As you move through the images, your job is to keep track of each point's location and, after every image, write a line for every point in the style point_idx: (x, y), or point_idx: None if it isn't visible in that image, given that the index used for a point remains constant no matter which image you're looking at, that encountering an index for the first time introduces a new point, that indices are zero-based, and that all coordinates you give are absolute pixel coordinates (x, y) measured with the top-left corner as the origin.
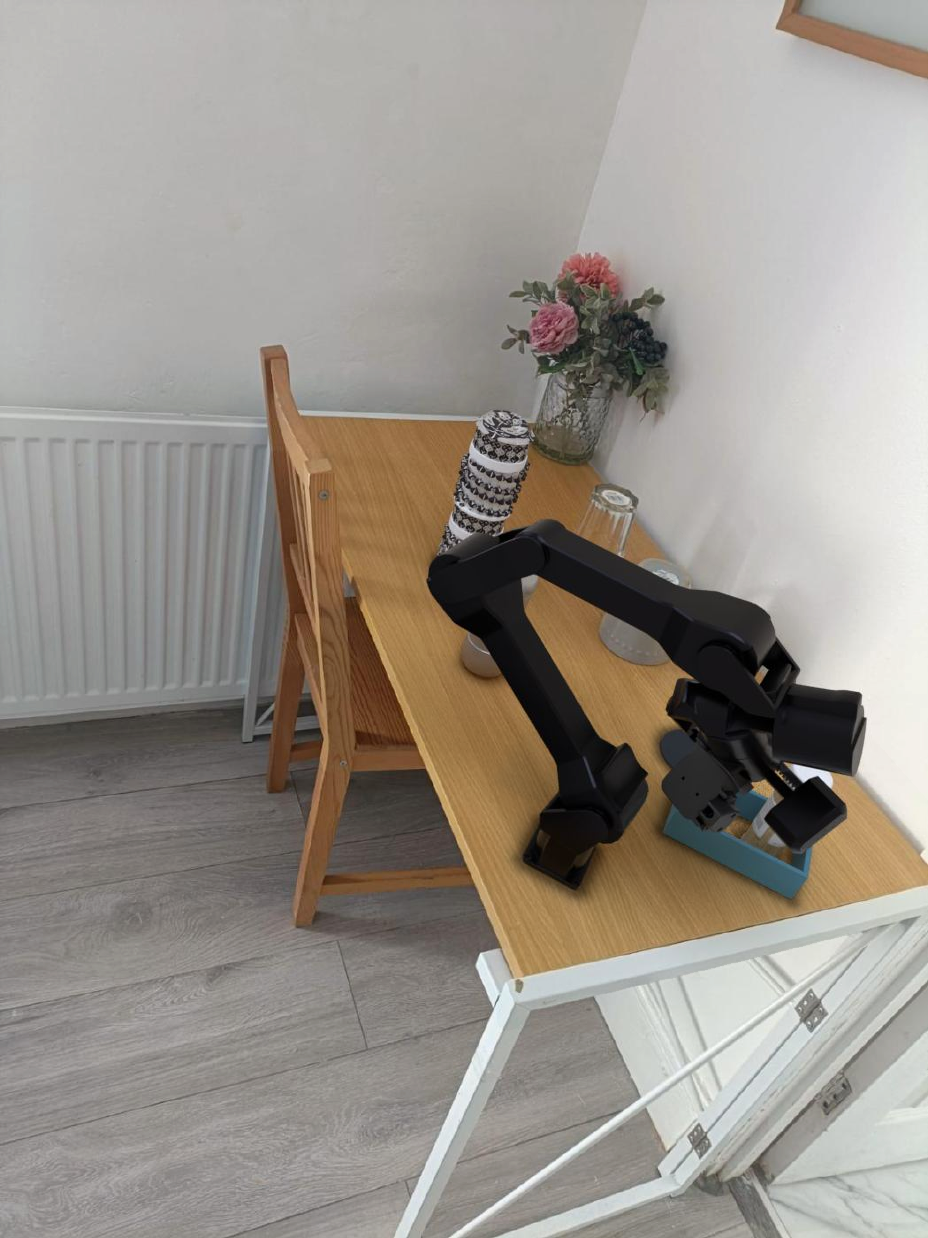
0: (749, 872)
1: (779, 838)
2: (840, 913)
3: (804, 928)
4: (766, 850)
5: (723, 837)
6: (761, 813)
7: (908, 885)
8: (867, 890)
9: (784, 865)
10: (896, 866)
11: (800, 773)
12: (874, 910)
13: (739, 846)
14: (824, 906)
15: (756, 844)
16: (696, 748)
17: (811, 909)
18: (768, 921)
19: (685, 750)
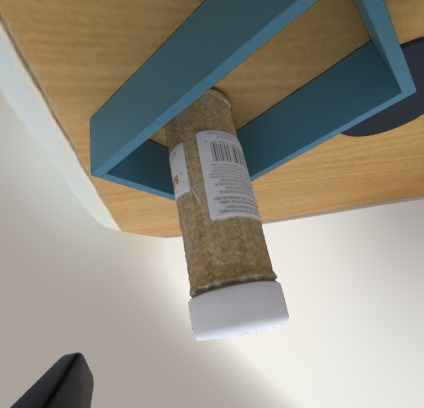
0: (142, 76)
1: (176, 169)
2: (72, 169)
3: (25, 116)
4: (175, 130)
5: (217, 60)
6: (234, 167)
7: (122, 226)
8: (114, 200)
9: (119, 152)
10: (146, 224)
11: (251, 329)
12: (83, 198)
13: (184, 87)
14: (82, 156)
15: (191, 119)
16: (403, 104)
17: (73, 140)
18: (24, 58)
19: (417, 85)
